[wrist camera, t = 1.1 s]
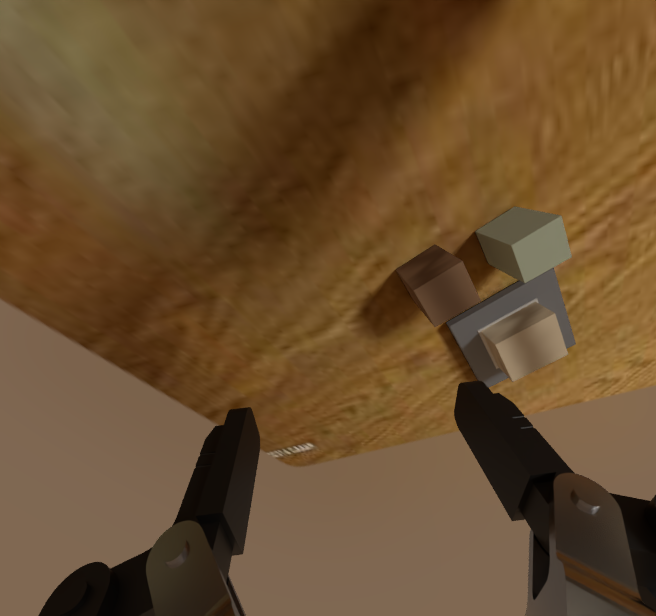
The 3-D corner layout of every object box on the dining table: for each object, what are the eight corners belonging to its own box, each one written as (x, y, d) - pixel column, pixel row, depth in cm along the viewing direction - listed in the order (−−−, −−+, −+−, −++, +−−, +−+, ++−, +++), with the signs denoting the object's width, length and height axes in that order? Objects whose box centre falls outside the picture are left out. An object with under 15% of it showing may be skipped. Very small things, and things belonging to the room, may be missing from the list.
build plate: (546, 265, 33) (554, 268, 32) (569, 339, 38) (576, 344, 37) (445, 322, 35) (449, 327, 34) (480, 384, 41) (484, 390, 40)
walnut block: (435, 244, 31) (462, 260, 25) (452, 279, 33) (480, 301, 27) (395, 269, 32) (413, 290, 26) (414, 301, 34) (435, 327, 28)
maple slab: (535, 301, 34) (555, 313, 31) (548, 340, 37) (568, 354, 34) (480, 331, 35) (495, 344, 32) (498, 366, 38) (512, 381, 35)
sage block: (514, 206, 29) (561, 215, 24) (526, 241, 31) (571, 257, 26) (475, 231, 30) (511, 245, 25) (488, 263, 32) (524, 283, 27)
